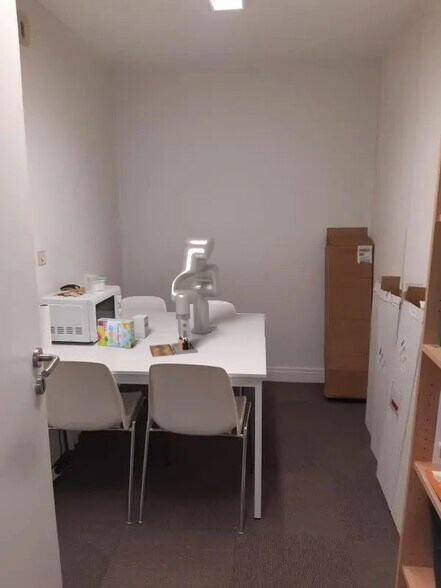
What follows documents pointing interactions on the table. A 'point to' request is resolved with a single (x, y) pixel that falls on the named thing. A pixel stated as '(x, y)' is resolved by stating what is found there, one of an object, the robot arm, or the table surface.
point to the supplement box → (141, 326)
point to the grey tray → (191, 350)
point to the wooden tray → (161, 350)
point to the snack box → (116, 332)
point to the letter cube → (180, 344)
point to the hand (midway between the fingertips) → (183, 347)
